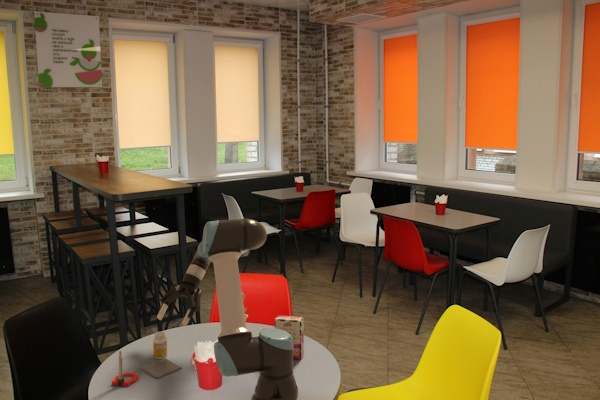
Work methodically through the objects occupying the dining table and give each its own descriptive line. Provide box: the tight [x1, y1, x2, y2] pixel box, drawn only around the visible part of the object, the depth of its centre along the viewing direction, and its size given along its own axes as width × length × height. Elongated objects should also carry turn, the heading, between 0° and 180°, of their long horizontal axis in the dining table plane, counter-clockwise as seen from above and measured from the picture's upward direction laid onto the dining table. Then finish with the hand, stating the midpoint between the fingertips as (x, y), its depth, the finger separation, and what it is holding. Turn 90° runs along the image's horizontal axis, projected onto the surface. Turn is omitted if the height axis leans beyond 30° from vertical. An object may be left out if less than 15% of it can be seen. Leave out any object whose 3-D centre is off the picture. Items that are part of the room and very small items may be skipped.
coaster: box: [140, 358, 183, 380], centre depth 210 cm, size 11×11×1 cm
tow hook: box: [111, 350, 139, 387], centre depth 201 cm, size 8×13×9 cm
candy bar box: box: [274, 314, 305, 361], centre depth 220 cm, size 11×5×16 cm, turn 76°
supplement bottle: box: [152, 331, 168, 360], centre depth 221 cm, size 5×5×10 cm
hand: (171, 321), depth 227 cm, fingers open, 13 cm apart
